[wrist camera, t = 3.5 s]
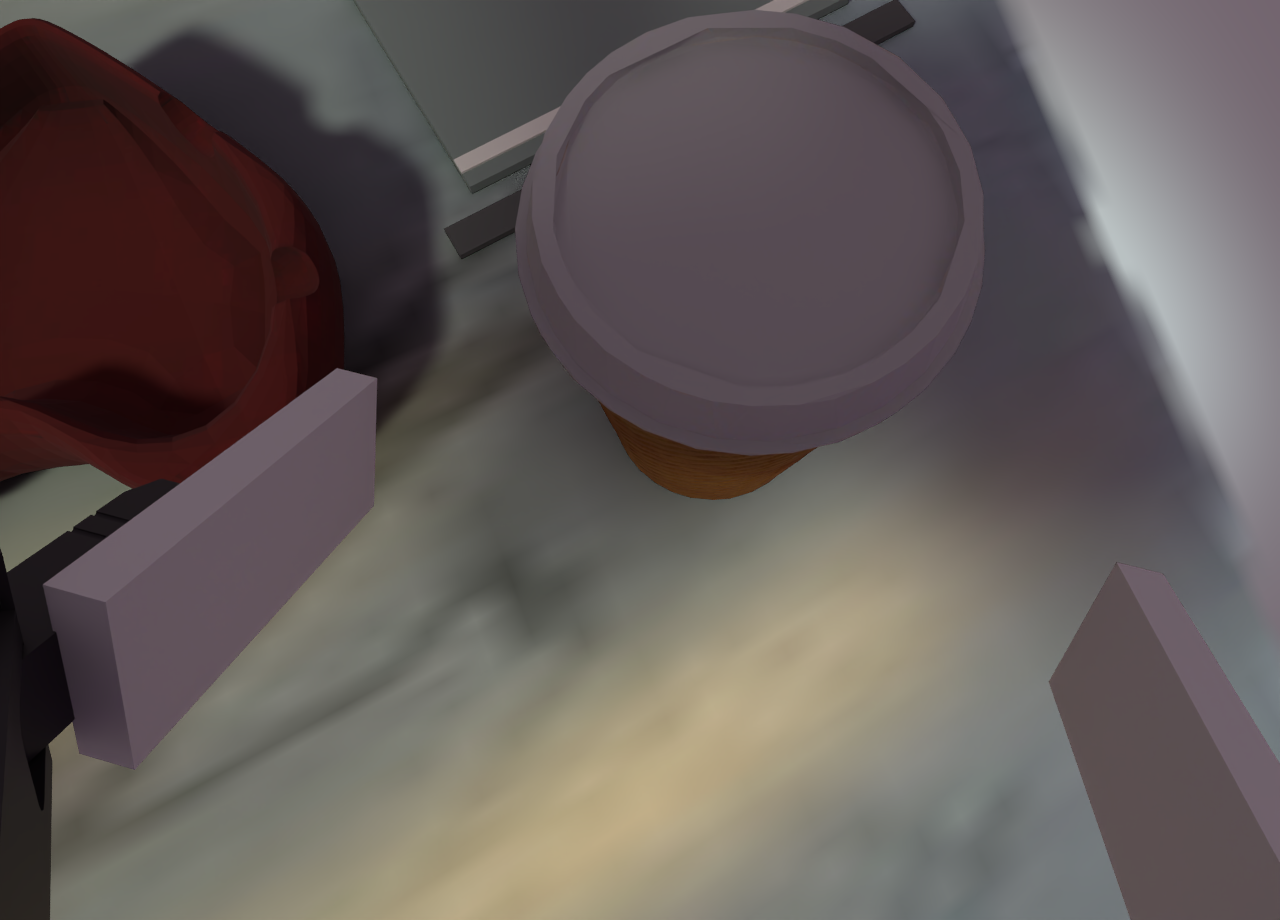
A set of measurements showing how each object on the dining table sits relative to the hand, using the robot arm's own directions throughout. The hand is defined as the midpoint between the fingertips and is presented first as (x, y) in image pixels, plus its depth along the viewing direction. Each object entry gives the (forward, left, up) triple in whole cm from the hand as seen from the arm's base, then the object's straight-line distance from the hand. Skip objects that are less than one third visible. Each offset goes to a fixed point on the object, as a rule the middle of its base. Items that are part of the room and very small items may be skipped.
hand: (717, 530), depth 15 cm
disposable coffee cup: (-5, +4, -11) cm, 13 cm away
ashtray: (-18, -12, -12) cm, 25 cm away
